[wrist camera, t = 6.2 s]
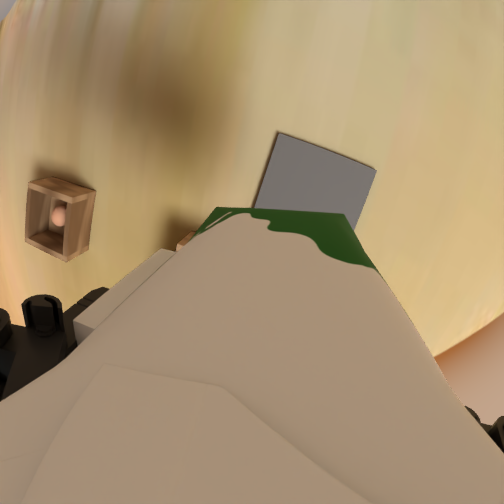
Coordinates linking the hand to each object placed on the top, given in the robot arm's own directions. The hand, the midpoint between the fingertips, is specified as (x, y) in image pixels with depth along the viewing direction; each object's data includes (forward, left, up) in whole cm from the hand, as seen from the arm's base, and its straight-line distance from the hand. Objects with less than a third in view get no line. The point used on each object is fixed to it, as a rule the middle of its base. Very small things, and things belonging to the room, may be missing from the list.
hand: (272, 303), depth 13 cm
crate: (-29, -10, -24) cm, 39 cm away
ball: (-29, -10, -23) cm, 38 cm away
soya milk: (0, 0, -5) cm, 5 cm away
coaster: (+3, +2, -24) cm, 24 cm away
